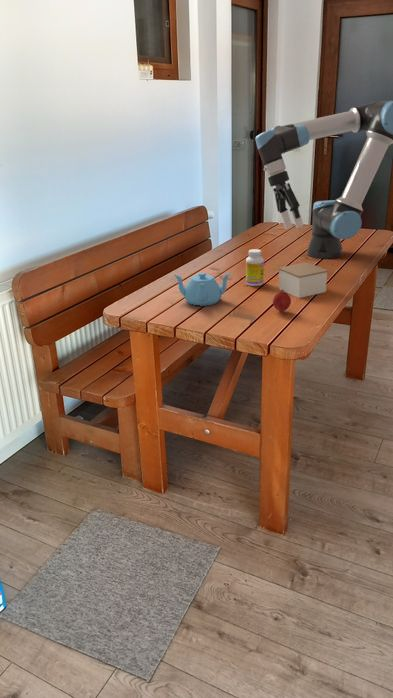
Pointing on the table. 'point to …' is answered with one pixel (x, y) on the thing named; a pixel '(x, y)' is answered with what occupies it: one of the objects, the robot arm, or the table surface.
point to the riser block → (302, 279)
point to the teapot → (202, 289)
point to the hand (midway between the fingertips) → (294, 227)
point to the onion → (281, 301)
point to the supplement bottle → (254, 268)
